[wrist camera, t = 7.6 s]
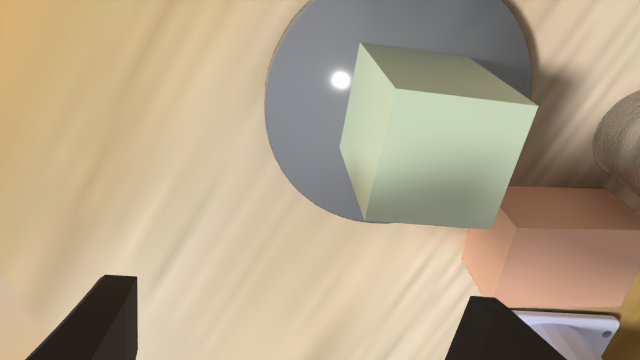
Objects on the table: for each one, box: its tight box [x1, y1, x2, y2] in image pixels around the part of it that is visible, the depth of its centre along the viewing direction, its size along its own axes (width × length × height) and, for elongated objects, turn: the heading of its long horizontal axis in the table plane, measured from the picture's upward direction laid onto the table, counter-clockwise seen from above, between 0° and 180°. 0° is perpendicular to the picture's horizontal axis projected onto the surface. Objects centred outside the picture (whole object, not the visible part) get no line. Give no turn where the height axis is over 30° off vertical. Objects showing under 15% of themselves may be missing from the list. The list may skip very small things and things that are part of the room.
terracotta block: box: [461, 186, 640, 308], centre depth 21 cm, size 4×6×4 cm, turn 85°
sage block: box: [340, 42, 538, 230], centre depth 16 cm, size 4×4×5 cm
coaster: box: [264, 0, 532, 224], centre depth 19 cm, size 10×10×1 cm
